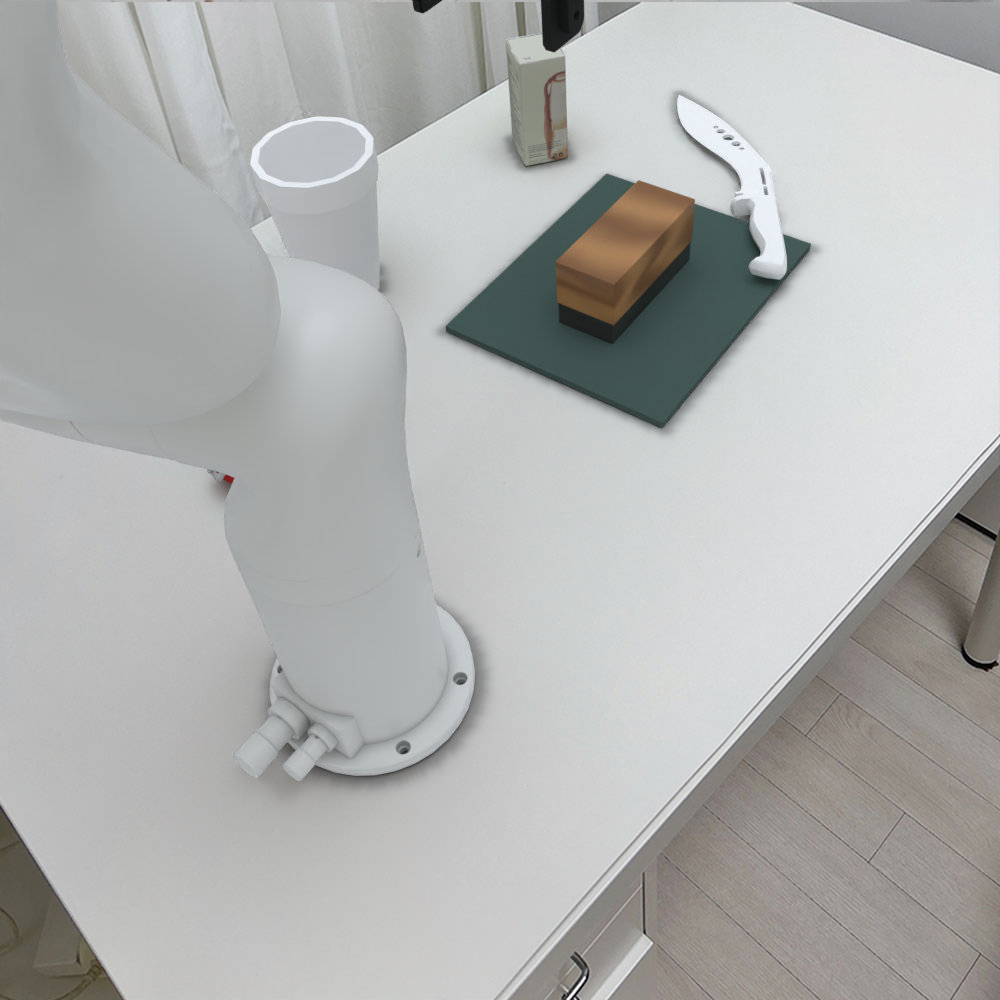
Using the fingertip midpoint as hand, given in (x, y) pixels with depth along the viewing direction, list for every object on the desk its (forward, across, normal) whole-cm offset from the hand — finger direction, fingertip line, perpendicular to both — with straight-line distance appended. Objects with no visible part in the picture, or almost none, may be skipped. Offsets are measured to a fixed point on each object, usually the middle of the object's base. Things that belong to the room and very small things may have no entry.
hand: (496, 21), depth 67 cm
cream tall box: (+26, -14, +23) cm, 38 cm away
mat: (+26, +4, +10) cm, 28 cm away
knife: (+26, +4, +26) cm, 37 cm away
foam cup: (+26, -17, -2) cm, 32 cm away
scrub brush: (+26, +4, +9) cm, 28 cm away
